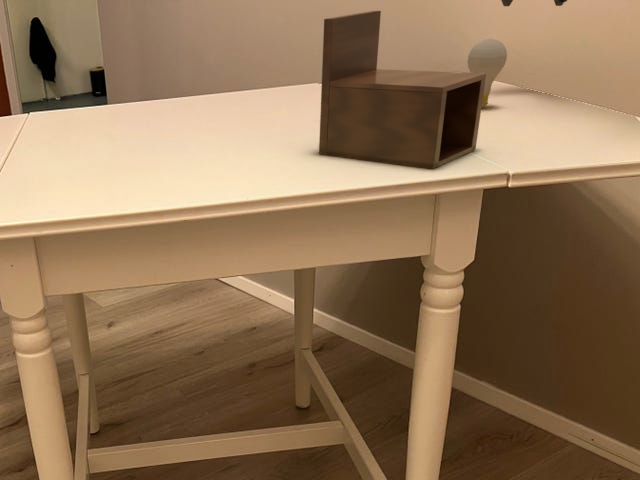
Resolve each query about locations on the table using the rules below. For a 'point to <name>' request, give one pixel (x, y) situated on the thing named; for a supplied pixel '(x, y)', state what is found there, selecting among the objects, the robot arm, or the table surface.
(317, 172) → the table surface
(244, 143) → the table surface
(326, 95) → the shelf
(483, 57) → the light bulb
